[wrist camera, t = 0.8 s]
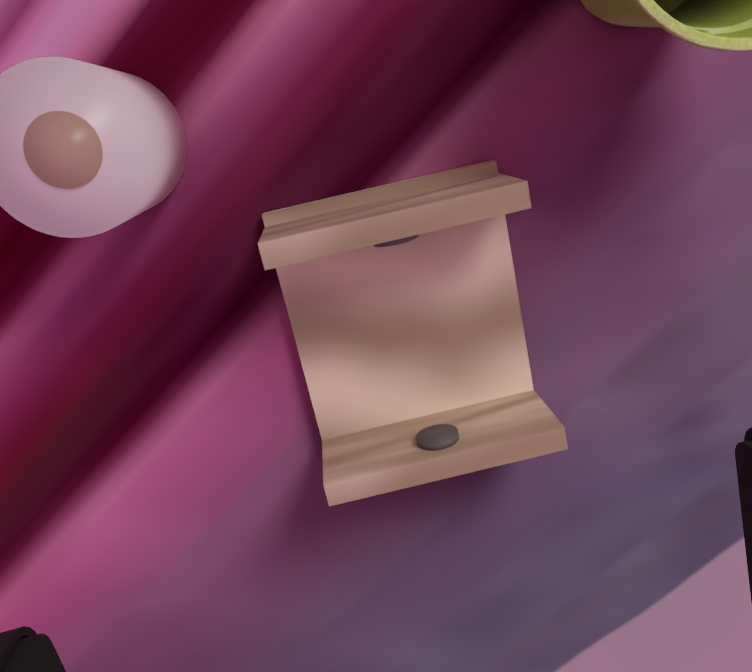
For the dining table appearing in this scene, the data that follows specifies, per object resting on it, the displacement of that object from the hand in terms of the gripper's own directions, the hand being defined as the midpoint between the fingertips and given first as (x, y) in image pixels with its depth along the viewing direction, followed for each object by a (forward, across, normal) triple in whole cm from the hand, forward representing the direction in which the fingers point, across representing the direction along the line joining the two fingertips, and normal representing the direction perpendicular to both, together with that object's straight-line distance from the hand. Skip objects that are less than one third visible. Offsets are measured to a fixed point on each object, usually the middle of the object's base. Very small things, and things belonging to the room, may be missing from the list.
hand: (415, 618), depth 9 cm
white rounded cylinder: (+23, +7, -8) cm, 25 cm away
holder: (+23, -2, +3) cm, 23 cm away
